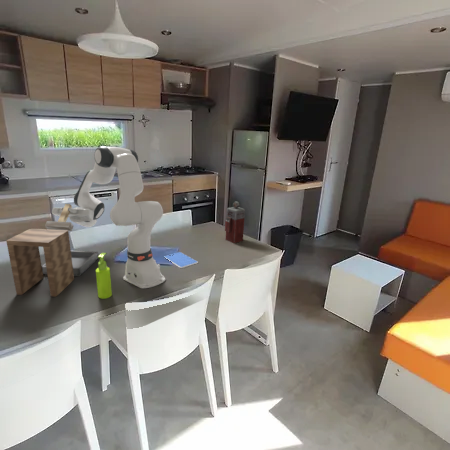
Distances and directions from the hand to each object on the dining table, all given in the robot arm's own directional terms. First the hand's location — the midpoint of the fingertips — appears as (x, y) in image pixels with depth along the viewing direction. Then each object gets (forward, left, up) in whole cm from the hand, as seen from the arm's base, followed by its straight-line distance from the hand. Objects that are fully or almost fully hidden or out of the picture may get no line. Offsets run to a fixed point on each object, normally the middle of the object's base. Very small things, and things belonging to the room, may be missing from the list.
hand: (65, 209), depth 155 cm
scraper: (-1, +1, -5) cm, 5 cm away
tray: (-1, 0, -32) cm, 32 cm away
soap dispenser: (-41, -1, -32) cm, 52 cm away
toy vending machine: (-27, -98, -32) cm, 107 cm away
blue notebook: (-31, -50, -33) cm, 67 cm away
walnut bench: (-17, +17, -32) cm, 40 cm away
